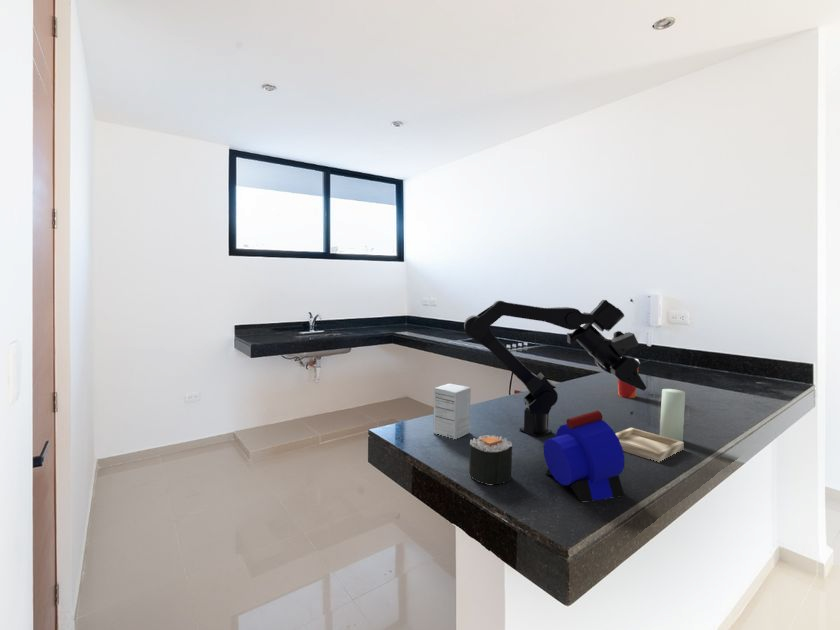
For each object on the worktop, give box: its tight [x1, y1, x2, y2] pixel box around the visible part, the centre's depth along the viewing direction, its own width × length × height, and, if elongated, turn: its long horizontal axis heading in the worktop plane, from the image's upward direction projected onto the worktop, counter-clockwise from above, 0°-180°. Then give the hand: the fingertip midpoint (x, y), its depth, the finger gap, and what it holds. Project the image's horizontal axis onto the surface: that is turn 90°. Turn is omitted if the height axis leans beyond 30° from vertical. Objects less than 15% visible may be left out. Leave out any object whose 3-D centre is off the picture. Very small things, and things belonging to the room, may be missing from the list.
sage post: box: [659, 388, 686, 442], centre depth 109 cm, size 5×5×13 cm
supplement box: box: [433, 383, 472, 440], centre depth 111 cm, size 7×7×13 cm
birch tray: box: [615, 427, 685, 463], centre depth 104 cm, size 13×13×2 cm
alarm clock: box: [543, 409, 625, 502], centre depth 83 cm, size 12×12×15 cm
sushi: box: [468, 434, 513, 485], centre depth 86 cm, size 8×8×8 cm
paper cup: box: [617, 356, 641, 399], centre depth 154 cm, size 8×8×14 cm
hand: (638, 385), depth 110 cm, fingers open, 9 cm apart
